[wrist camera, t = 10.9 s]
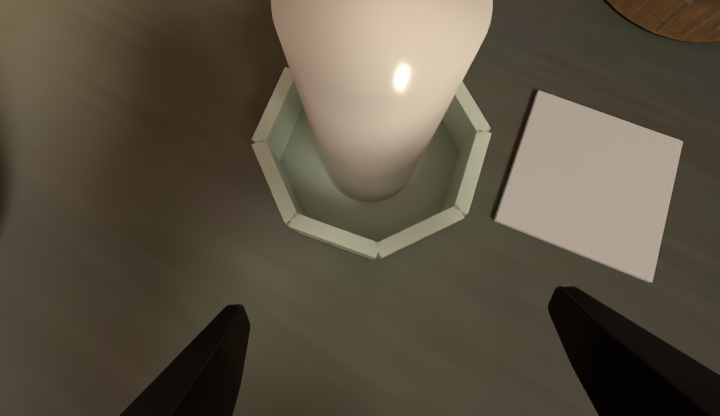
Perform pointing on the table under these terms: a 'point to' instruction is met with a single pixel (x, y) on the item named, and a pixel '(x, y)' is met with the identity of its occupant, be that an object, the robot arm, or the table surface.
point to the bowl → (369, 219)
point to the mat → (591, 185)
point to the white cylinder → (377, 80)
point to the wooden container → (674, 17)
